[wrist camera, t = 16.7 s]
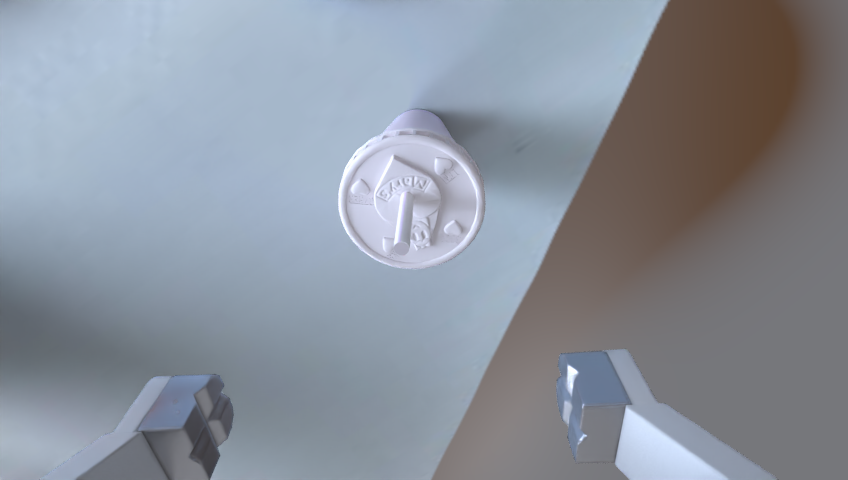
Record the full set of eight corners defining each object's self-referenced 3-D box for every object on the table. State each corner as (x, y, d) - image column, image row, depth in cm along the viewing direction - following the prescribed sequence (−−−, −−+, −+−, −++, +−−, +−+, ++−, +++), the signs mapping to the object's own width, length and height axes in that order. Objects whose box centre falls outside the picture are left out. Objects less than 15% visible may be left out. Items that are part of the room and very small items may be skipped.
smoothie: (455, 71, 26) (475, 150, 14) (481, 173, 29) (517, 313, 17) (349, 103, 27) (281, 204, 15) (385, 199, 30) (352, 349, 18)
